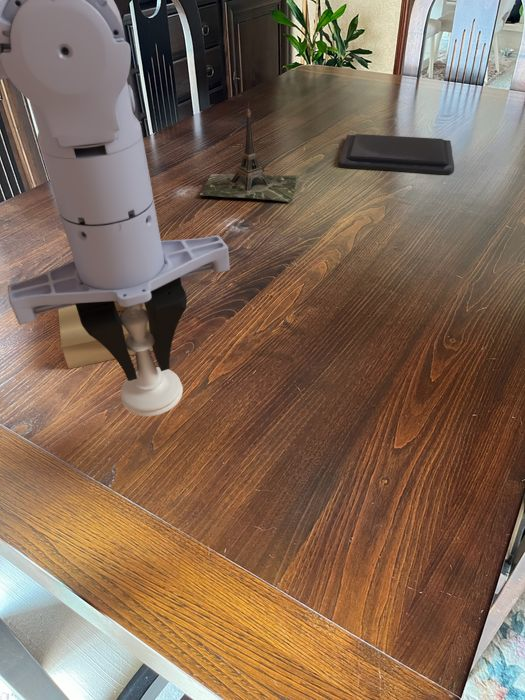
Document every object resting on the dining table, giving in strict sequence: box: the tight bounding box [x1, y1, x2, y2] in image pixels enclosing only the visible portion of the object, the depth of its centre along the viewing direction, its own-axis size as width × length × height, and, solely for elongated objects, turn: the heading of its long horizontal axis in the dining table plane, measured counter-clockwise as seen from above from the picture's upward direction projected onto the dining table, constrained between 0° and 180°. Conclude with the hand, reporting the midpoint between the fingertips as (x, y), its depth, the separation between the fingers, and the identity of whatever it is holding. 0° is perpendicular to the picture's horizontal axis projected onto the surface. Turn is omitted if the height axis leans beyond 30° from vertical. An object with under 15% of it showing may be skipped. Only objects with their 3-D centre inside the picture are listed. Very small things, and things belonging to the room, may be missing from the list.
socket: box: [57, 301, 173, 370], centre depth 62 cm, size 11×11×3 cm
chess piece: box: [119, 303, 184, 417], centre depth 41 cm, size 5×5×10 cm
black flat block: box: [337, 133, 455, 176], centre depth 100 cm, size 20×2×15 cm
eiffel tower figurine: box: [199, 104, 298, 203], centre depth 87 cm, size 15×10×13 cm
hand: (145, 367), depth 43 cm, fingers closed on chess piece
